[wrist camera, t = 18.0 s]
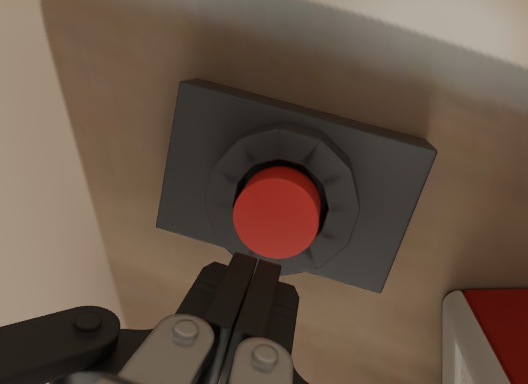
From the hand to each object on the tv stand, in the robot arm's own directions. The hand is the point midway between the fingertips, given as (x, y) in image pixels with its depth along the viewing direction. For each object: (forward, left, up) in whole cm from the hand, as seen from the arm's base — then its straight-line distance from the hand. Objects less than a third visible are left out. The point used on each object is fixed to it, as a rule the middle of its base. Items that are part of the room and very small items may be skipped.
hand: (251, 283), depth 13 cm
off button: (0, +1, -5) cm, 5 cm away
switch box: (0, +1, -8) cm, 8 cm away
